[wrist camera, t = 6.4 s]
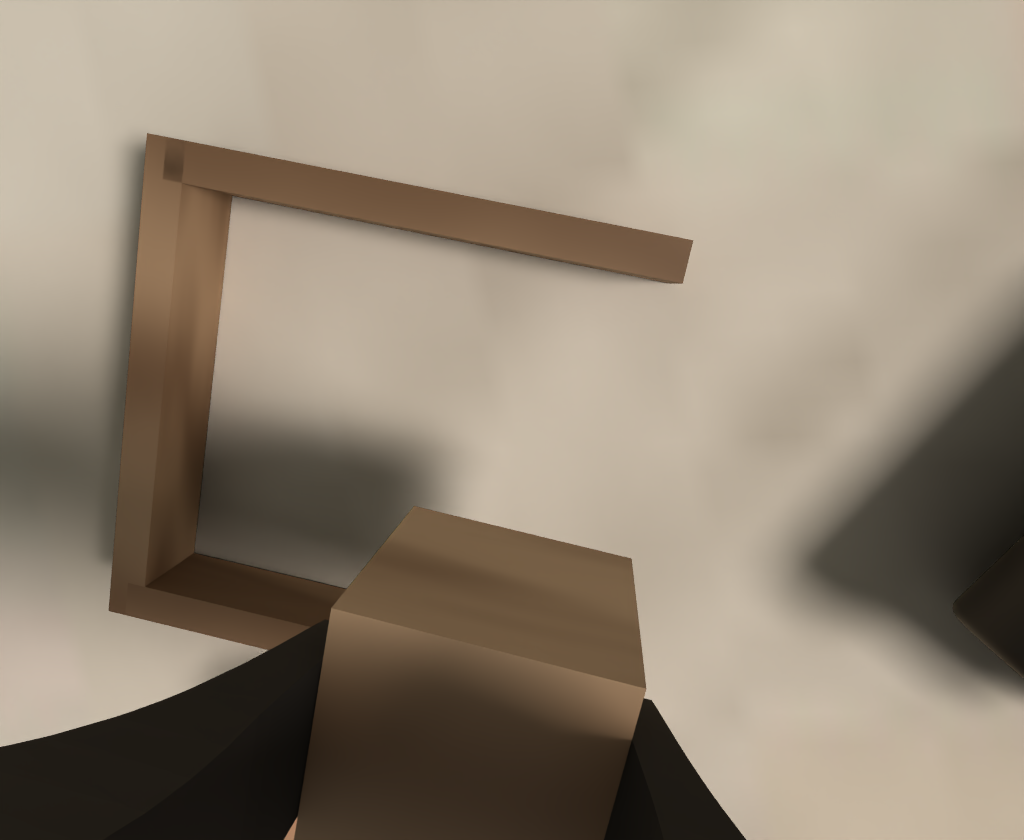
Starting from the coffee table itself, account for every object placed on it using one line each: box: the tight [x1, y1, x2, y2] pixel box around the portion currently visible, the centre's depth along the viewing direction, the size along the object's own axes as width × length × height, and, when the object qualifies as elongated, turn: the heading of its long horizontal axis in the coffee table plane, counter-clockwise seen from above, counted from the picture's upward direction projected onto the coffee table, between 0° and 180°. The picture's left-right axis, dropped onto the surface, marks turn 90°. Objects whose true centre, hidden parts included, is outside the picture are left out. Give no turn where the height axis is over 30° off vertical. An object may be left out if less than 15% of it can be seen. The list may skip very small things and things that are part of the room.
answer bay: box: [109, 133, 693, 650], centre depth 19 cm, size 13×14×2 cm
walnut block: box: [294, 506, 646, 840], centre depth 12 cm, size 4×4×4 cm
